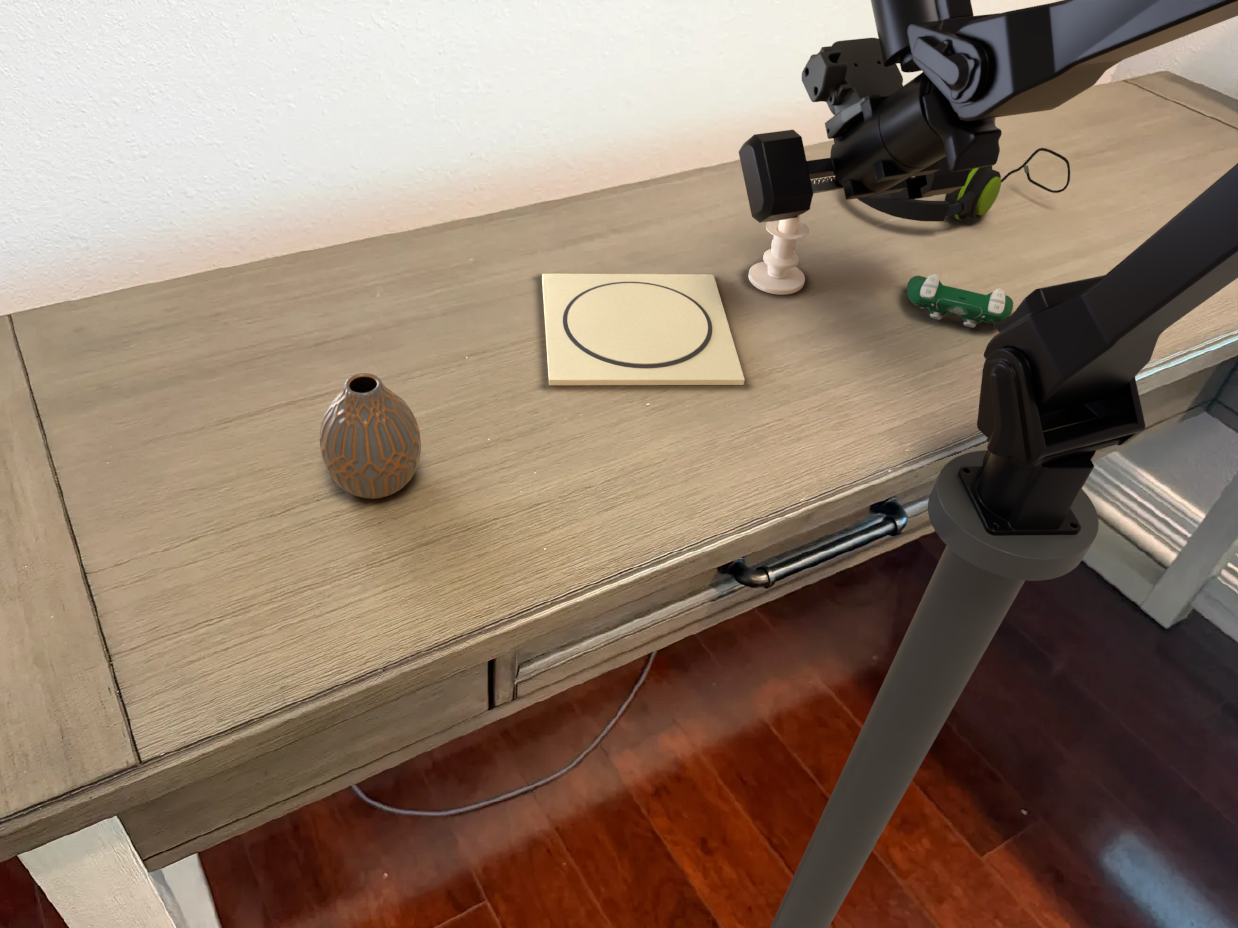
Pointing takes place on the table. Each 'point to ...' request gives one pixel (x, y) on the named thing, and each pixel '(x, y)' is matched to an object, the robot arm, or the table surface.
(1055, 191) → the headphones
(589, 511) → the table surface
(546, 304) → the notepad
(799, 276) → the candle
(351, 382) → the vase
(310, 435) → the table surface
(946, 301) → the gaming controller
